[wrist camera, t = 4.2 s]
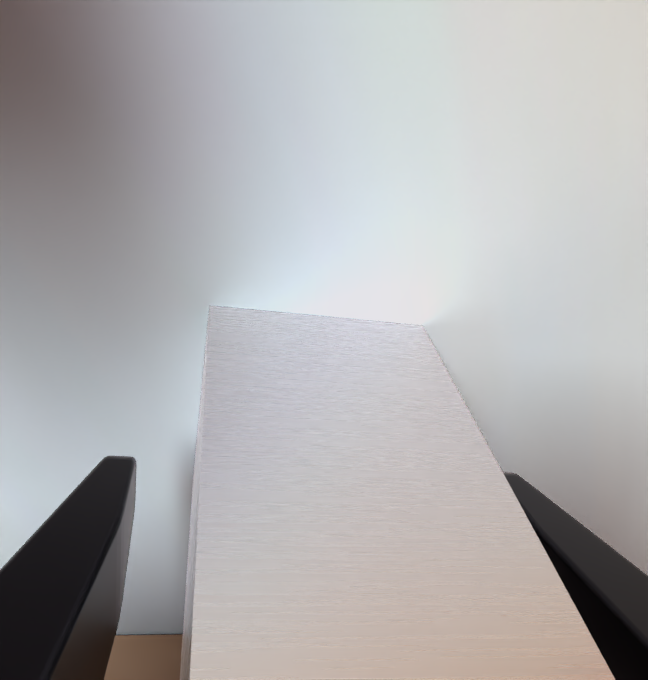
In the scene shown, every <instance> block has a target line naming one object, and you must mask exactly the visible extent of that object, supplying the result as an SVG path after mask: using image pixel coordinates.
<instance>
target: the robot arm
mask: <svg viewBox="0 0 648 680" xmlns="http://www.w3.org/2000/svg"><path fill="white" fill-rule="evenodd" d="M503 474H504V476H505V477H506V479H507V481H508V483H509V485H510V487H511V488H512V490H513V492H514V494H515V496H516V498H517V500H518V501H519V503H520V505H521V507H522V509H523V511H524V512H525V514H526V516H527V518H528V520H529V522H530V523H531V525H532V527H533V529H534V531H535V533H536V534H537V536H538V538H539V540H540V542H541V544H542V546H543V547H544V549H545V551H546V553H547V555H548V557H549V558H550V560H551V562H552V564H553V566H554V568H555V569H556V571H557V573H558V575H559V577H560V579H561V580H562V582H563V584H564V586H565V588H566V590H567V592H568V593H569V595H570V597H571V599H572V601H573V603H574V604H575V606H576V608H577V610H578V612H579V614H580V615H581V617H582V619H583V621H584V623H585V625H586V627H587V628H588V630H589V632H590V634H591V636H592V638H593V639H594V641H595V643H596V645H597V647H598V649H599V650H600V652H601V654H602V656H603V658H604V660H605V661H606V663H607V665H608V667H609V669H610V671H611V673H612V674H613V676H614V678H615V680H648V576H647V575H646V574H645V573H643V572H642V571H641V570H640V569H638V568H637V567H636V566H634V565H633V564H632V563H631V562H629V561H628V560H627V559H625V558H624V557H623V556H622V555H620V554H619V553H618V552H616V551H615V550H614V549H613V548H611V547H610V546H609V545H607V544H606V543H605V542H604V541H602V540H601V539H600V538H598V537H597V536H596V535H595V534H593V533H592V532H591V531H589V530H588V529H587V528H586V527H584V526H583V525H582V524H580V523H579V522H578V521H577V520H575V519H574V518H573V517H571V516H570V515H569V514H568V513H566V512H565V511H564V510H562V509H561V508H560V507H559V506H557V505H556V504H555V503H553V502H552V501H551V500H550V499H548V498H547V497H546V496H545V495H543V494H542V493H541V492H539V491H538V490H537V489H536V488H534V487H533V486H532V485H530V484H529V483H528V482H527V481H525V480H524V479H523V478H521V477H520V476H519V475H517V474H514V473H503ZM135 493H136V460H135V458H133V457H129V456H107V457H105V458H104V459H103V460H102V461H101V462H100V463H99V464H98V465H97V466H96V467H95V468H94V469H93V470H92V471H91V472H90V474H89V475H88V476H87V477H86V478H85V479H84V480H83V481H82V482H81V483H80V484H79V485H78V487H77V488H76V489H75V490H74V491H73V492H72V493H71V494H70V495H69V496H68V497H67V498H66V499H65V501H64V502H63V503H62V504H61V505H60V506H59V507H58V508H57V509H56V510H55V511H54V512H53V513H52V515H51V516H50V517H49V518H48V519H47V520H46V521H45V522H44V523H43V524H42V525H41V526H40V528H39V529H38V530H37V531H36V532H35V533H34V534H33V535H32V536H31V537H30V538H29V539H28V540H27V542H26V543H25V544H24V545H23V546H22V547H21V548H20V549H19V550H18V551H17V552H16V553H15V555H14V556H13V557H12V558H11V559H10V560H9V561H8V562H7V563H6V564H5V565H4V566H3V567H2V569H1V570H0V680H104V677H105V673H106V669H107V665H108V661H109V658H110V654H111V650H112V646H113V642H114V638H115V635H116V630H117V626H118V622H119V617H120V612H121V606H122V600H123V592H124V585H125V578H126V570H127V563H128V555H129V548H130V541H131V533H132V526H133V518H134V510H135Z"/></svg>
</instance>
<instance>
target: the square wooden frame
mask: <svg viewBox="0 0 648 680" xmlns="http://www.w3.org/2000/svg"><path fill="white" fill-rule="evenodd" d="M182 637H183V634H181V635H115V638H114V642H113V646H112V650H111V654H110V658H109V661H108V665H107V669H106V673H105V677H104V680H180V667H181V652H182Z"/></svg>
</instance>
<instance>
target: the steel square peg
mask: <svg viewBox="0 0 648 680" xmlns="http://www.w3.org/2000/svg"><path fill="white" fill-rule="evenodd" d="M180 680H615V678H614V676H613V674H612V673H611V671H610V669H609V667H608V665H607V663H606V661H605V660H604V658H603V656H602V654H601V652H600V650H599V649H598V647H597V645H596V643H595V641H594V639H593V638H592V636H591V634H590V632H589V630H588V628H587V627H586V625H585V623H584V621H583V619H582V617H581V615H580V614H579V612H578V610H577V608H576V606H575V604H574V603H573V601H572V599H571V597H570V595H569V593H568V592H567V590H566V588H565V586H564V584H563V582H562V580H561V579H560V577H559V575H558V573H557V571H556V569H555V568H554V566H553V564H552V562H551V560H550V558H549V557H548V555H547V553H546V551H545V549H544V547H543V546H542V544H541V542H540V540H539V538H538V536H537V534H536V533H535V531H534V529H533V527H532V525H531V523H530V522H529V520H528V518H527V516H526V514H525V512H524V511H523V509H522V507H521V505H520V503H519V501H518V500H517V498H516V496H515V494H514V492H513V490H512V488H511V487H510V485H509V483H508V481H507V479H506V477H505V476H504V474H503V472H502V470H501V468H500V466H499V465H498V463H497V461H496V459H495V457H494V455H493V453H492V452H491V450H490V448H489V446H488V444H487V442H486V441H485V439H484V437H483V435H482V433H481V431H480V430H479V428H478V426H477V424H476V422H475V420H474V419H473V417H472V415H471V413H470V411H469V409H468V407H467V406H466V404H465V402H464V400H463V398H462V396H461V395H460V393H459V391H458V389H457V387H456V385H455V384H454V382H453V380H452V378H451V376H450V374H449V372H448V371H447V369H446V367H445V365H444V363H443V361H442V360H441V358H440V356H439V354H438V352H437V350H436V349H435V347H434V345H433V343H432V341H431V339H430V338H429V336H428V334H427V332H426V330H425V328H424V326H423V325H412V324H401V323H391V322H380V321H369V320H358V319H347V318H337V317H326V316H315V315H304V314H293V313H283V312H272V311H261V310H250V309H239V308H229V307H218V306H209V314H208V325H207V335H206V346H205V357H204V367H203V378H202V388H201V399H200V409H199V420H198V431H197V441H196V452H195V462H194V473H193V487H192V502H191V517H190V532H189V547H188V562H187V577H186V592H185V607H184V622H183V637H182V652H181V667H180Z"/></svg>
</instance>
